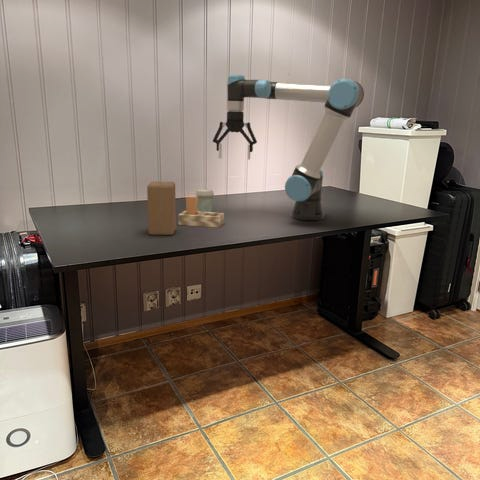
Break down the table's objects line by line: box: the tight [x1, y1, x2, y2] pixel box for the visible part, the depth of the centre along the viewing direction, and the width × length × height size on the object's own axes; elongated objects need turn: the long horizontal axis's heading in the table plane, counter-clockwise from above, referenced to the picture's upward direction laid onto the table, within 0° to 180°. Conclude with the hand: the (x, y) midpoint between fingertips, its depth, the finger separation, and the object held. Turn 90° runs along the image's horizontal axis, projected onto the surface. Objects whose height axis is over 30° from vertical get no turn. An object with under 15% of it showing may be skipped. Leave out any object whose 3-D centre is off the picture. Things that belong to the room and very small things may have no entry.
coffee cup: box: [195, 188, 215, 212], centre depth 220 cm, size 8×9×12 cm
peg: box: [185, 195, 198, 215], centre depth 204 cm, size 4×4×12 cm
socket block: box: [178, 210, 225, 229], centre depth 204 cm, size 18×9×4 cm, turn 80°
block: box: [146, 180, 177, 236], centre depth 187 cm, size 10×10×20 cm
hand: (234, 158), depth 216 cm, fingers open, 13 cm apart
